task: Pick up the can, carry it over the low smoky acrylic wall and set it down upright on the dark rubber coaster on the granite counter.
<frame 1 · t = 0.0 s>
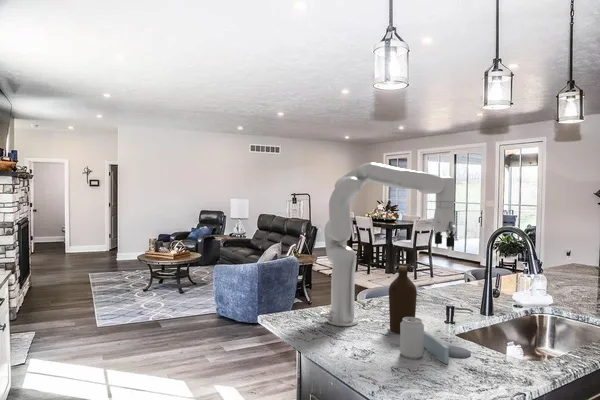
hand: (444, 245, 181), 31 cm above the worktop, fingers open, 9 cm apart
acrylic wall: (434, 353, 139), on the worktop
coaster: (454, 352, 141), on the worktop
olive oil: (402, 331, 163), on the worktop
can: (411, 355, 138), on the worktop
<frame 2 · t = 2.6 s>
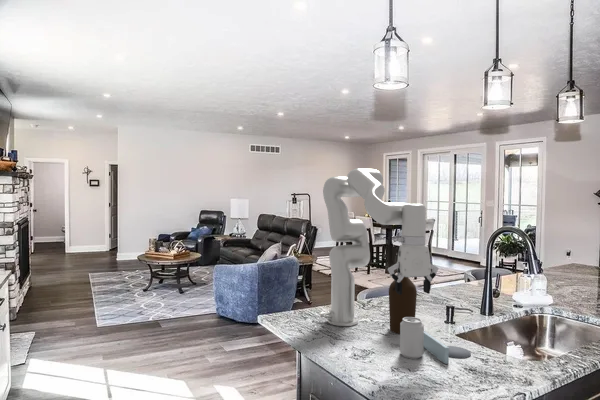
hand: (412, 293, 138), 20 cm above the worktop, fingers open, 9 cm apart
nothing on the worktop moved.
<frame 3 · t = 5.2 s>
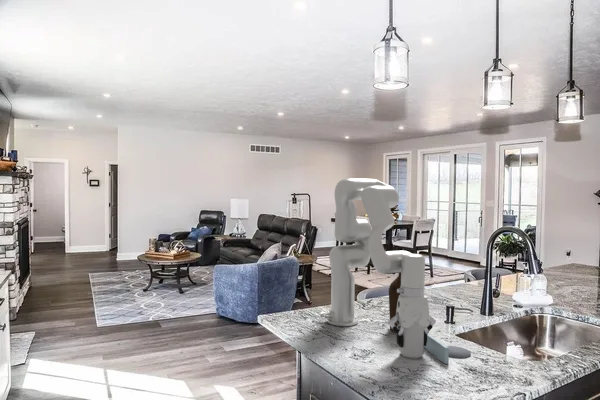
hand: (411, 345, 138), 3 cm above the worktop, fingers closed on can, 7 cm apart
can: (411, 355, 138), on the worktop, touching gripper
everything else where it was.
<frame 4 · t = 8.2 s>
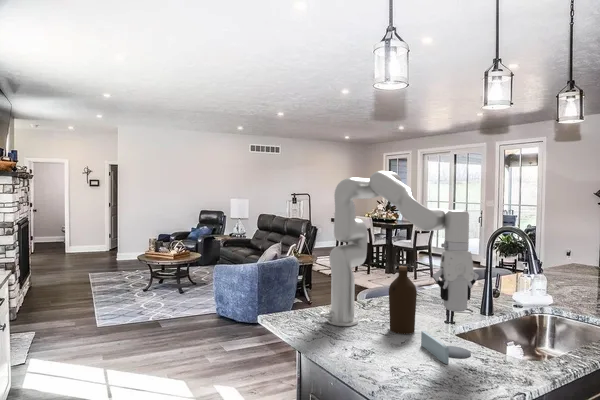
hand: (455, 299, 141), 18 cm above the worktop, fingers closed on can, 7 cm apart
can: (455, 309, 141), point 14 cm above the worktop, touching gripper
everything else where it was.
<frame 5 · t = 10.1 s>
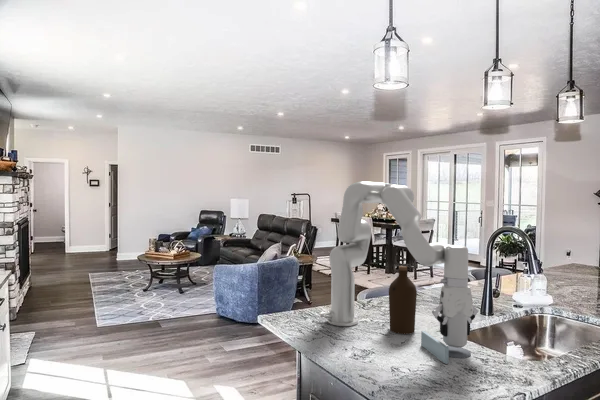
hand: (454, 334, 141), 6 cm above the worktop, fingers closed on can, 7 cm apart
can: (454, 345, 141), point 3 cm above the worktop, touching gripper
everything else where it was.
when the fingers open (4 cm above the worktop, at t = 11.5 s): can stays where it is, resting on coaster.
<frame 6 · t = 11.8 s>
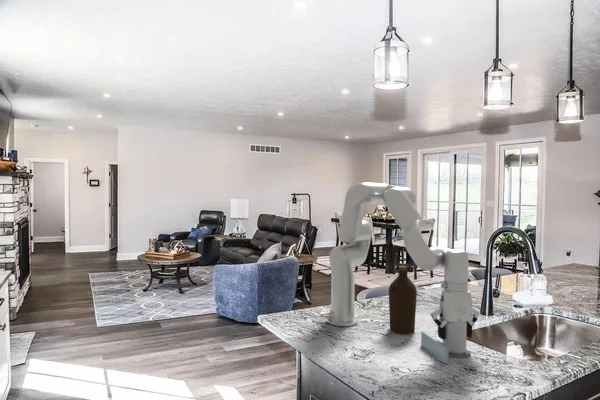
hand: (454, 337, 141), 5 cm above the worktop, fingers open, 9 cm apart
can: (454, 351, 141), resting on coaster
everything else where it was.
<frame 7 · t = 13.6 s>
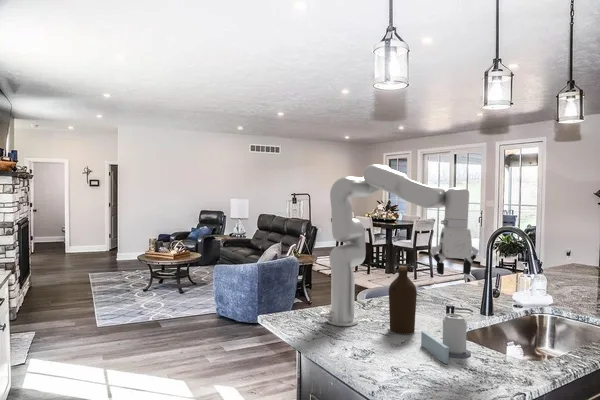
hand: (453, 273, 144), 26 cm above the worktop, fingers open, 9 cm apart
nothing on the worktop moved.
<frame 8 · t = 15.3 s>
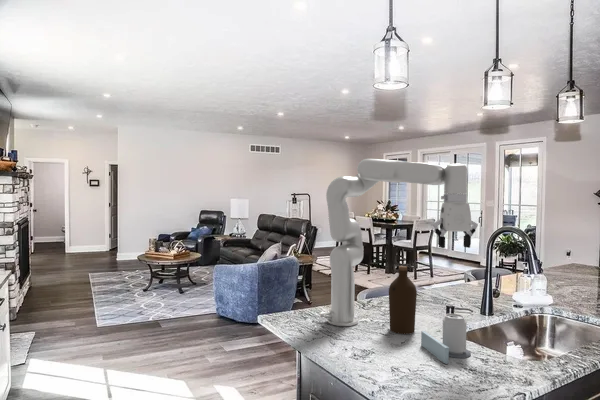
hand: (454, 247, 149), 34 cm above the worktop, fingers open, 9 cm apart
nothing on the worktop moved.
at the end: can 0.2 cm from the coaster (horizontally); can tilted 0°; can resting on coaster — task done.
